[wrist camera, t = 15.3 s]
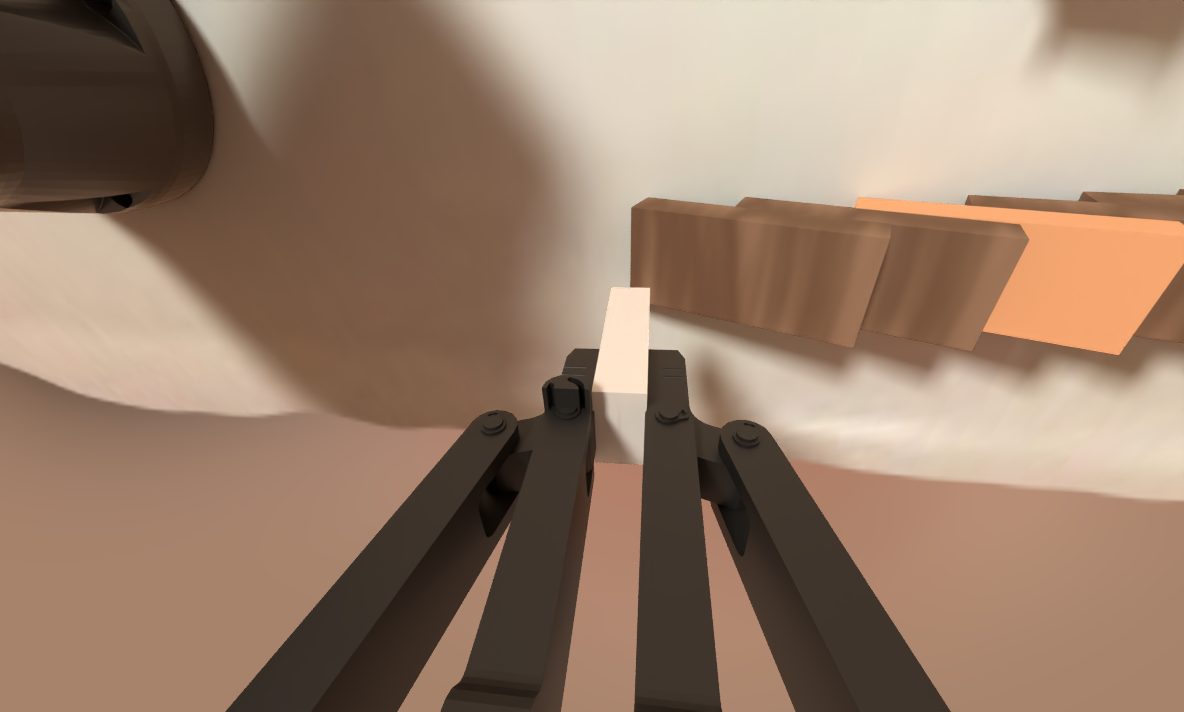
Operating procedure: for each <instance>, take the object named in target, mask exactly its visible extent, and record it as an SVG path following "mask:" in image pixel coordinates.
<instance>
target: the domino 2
mask: <svg viewBox="0 0 1184 712" xmlns="http://www.w3.org/2000/svg"><path fill="white" fill-rule="evenodd" d="M735 207H741V208H750V209H759V210H769V211H778V212H787V213H796V214H806V215H815V216H824V217H833V218H843V219H852V220H861V221H871V222H880V223H889V224H891V235H890V241H889V244H888V247H887V250H886V253H885V256H884V258H883V261H882V264H881V267H880V270H879V273H878V276H877V279H876V282H875V285H874V288H873V291H872V294H871V297H870V300H869V303H868V306H867V309H866V312H865V315H864V318H863V320H862V323H861V326H860V329H862V330H867V331H872V332H877V333H882V334H887V335H892V336H897V337H902V338H907V339H912V340H917V341H922V342H927V343H932V344H937V345H942V346H947V347H951V348H956V349H961V350H966V351H971V352H972V350H973V348H974V346H975V344H976V343H977V341H978V339H979V337H980V335H981V333H982V331H983V329H984V327H985V325H986V323H987V321H988V319H989V317H990V315H991V313H992V312H993V310H994V308H995V306H996V304H997V302H998V300H999V298H1000V296H1001V294H1002V292H1003V290H1004V288H1005V286H1006V284H1007V283H1008V281H1009V279H1010V277H1011V275H1012V273H1013V271H1014V269H1015V267H1016V265H1017V263H1018V261H1019V259H1020V257H1021V255H1022V253H1023V252H1024V250H1025V248H1026V246H1027V244H1028V242H1029V238H1028V236H1027V235H1026V233H1025V231H1024V230H1023V228H1022V227H1021V225H1020V224H1012V223H1002V222H992V221H982V220H972V219H961V218H951V217H941V216H931V215H921V214H911V213H901V212H891V211H881V210H871V209H861V208H851V207H841V206H831V205H821V204H811V203H801V202H790V201H780V200H770V199H760V198H750V197H745V198H744V199H743V200H742V201H741V202H740V203H739V204H738V205H736V206H735Z"/></svg>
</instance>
